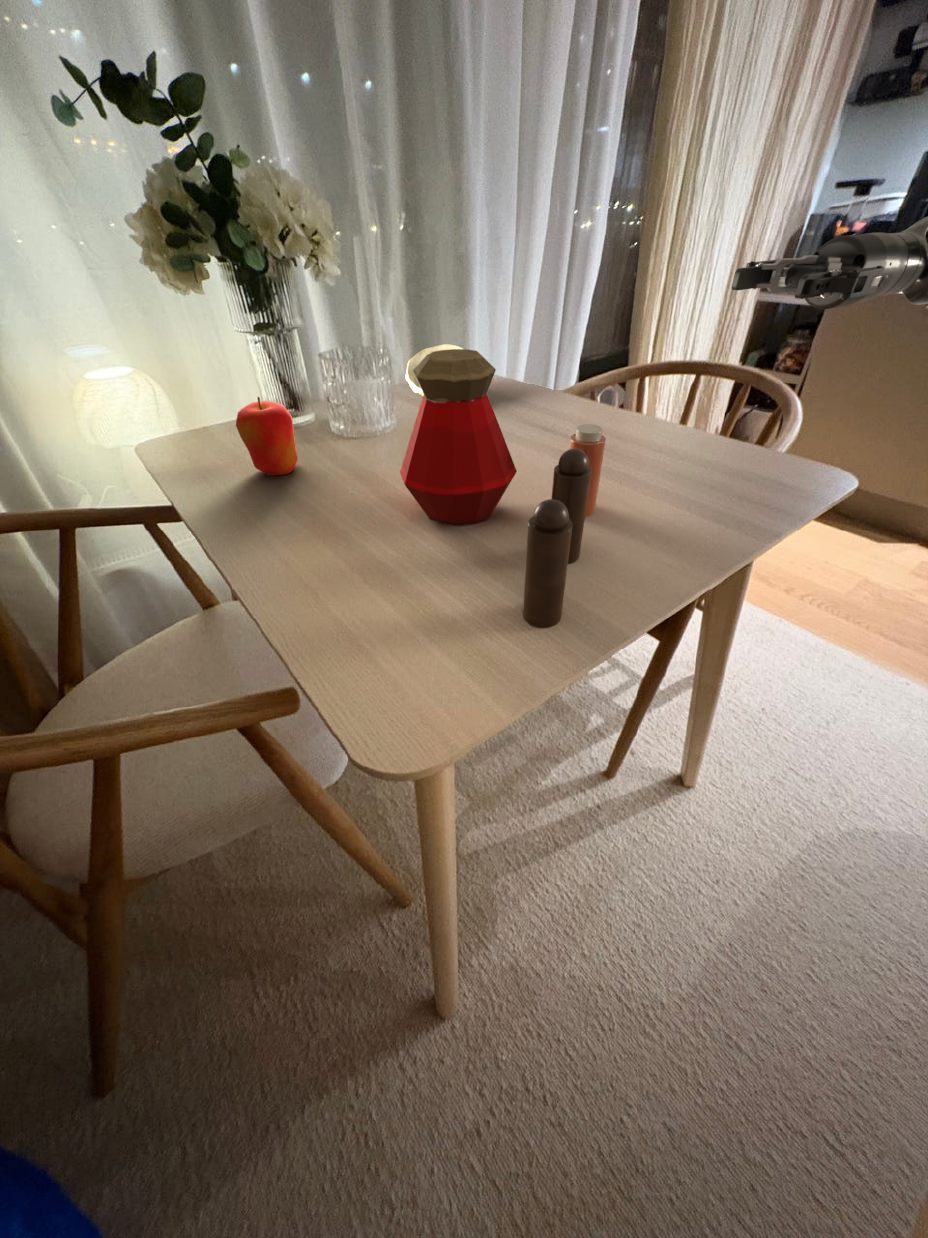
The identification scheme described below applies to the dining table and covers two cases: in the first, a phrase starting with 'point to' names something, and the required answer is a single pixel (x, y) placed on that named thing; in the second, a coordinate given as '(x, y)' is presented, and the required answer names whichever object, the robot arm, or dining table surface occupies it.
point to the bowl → (417, 359)
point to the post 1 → (546, 563)
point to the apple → (268, 436)
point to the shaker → (590, 457)
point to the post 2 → (573, 493)
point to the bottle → (456, 441)
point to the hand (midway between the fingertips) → (766, 283)
